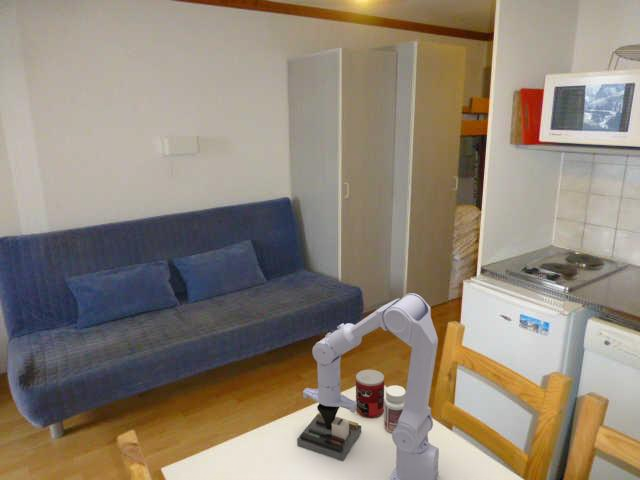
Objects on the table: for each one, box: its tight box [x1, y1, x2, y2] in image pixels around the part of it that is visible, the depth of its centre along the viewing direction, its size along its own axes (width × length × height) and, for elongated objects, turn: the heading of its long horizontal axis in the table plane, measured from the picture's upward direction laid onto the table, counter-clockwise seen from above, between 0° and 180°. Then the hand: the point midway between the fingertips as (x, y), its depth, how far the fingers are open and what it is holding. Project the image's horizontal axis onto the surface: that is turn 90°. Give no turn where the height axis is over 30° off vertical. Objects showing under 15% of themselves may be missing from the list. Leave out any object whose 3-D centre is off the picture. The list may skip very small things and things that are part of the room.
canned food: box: [355, 369, 385, 419], centre depth 134 cm, size 8×8×11 cm
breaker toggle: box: [332, 416, 350, 441], centre depth 122 cm, size 4×3×4 cm
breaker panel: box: [296, 411, 362, 462], centre depth 124 cm, size 13×12×3 cm
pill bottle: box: [383, 385, 406, 433], centre depth 127 cm, size 6×6×11 cm
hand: (330, 427), depth 123 cm, fingers closed
